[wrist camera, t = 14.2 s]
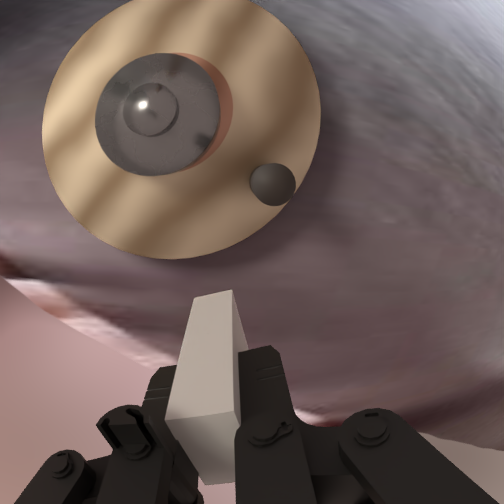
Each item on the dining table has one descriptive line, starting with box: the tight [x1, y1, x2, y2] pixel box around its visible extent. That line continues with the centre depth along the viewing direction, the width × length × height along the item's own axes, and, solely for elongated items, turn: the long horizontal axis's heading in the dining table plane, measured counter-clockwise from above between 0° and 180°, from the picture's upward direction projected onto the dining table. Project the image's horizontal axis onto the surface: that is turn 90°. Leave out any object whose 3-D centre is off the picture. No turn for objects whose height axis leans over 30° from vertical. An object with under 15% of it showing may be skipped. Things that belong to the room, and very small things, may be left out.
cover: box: [95, 53, 221, 176], centre depth 22 cm, size 10×10×4 cm
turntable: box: [42, 0, 321, 259], centre depth 23 cm, size 26×26×7 cm
